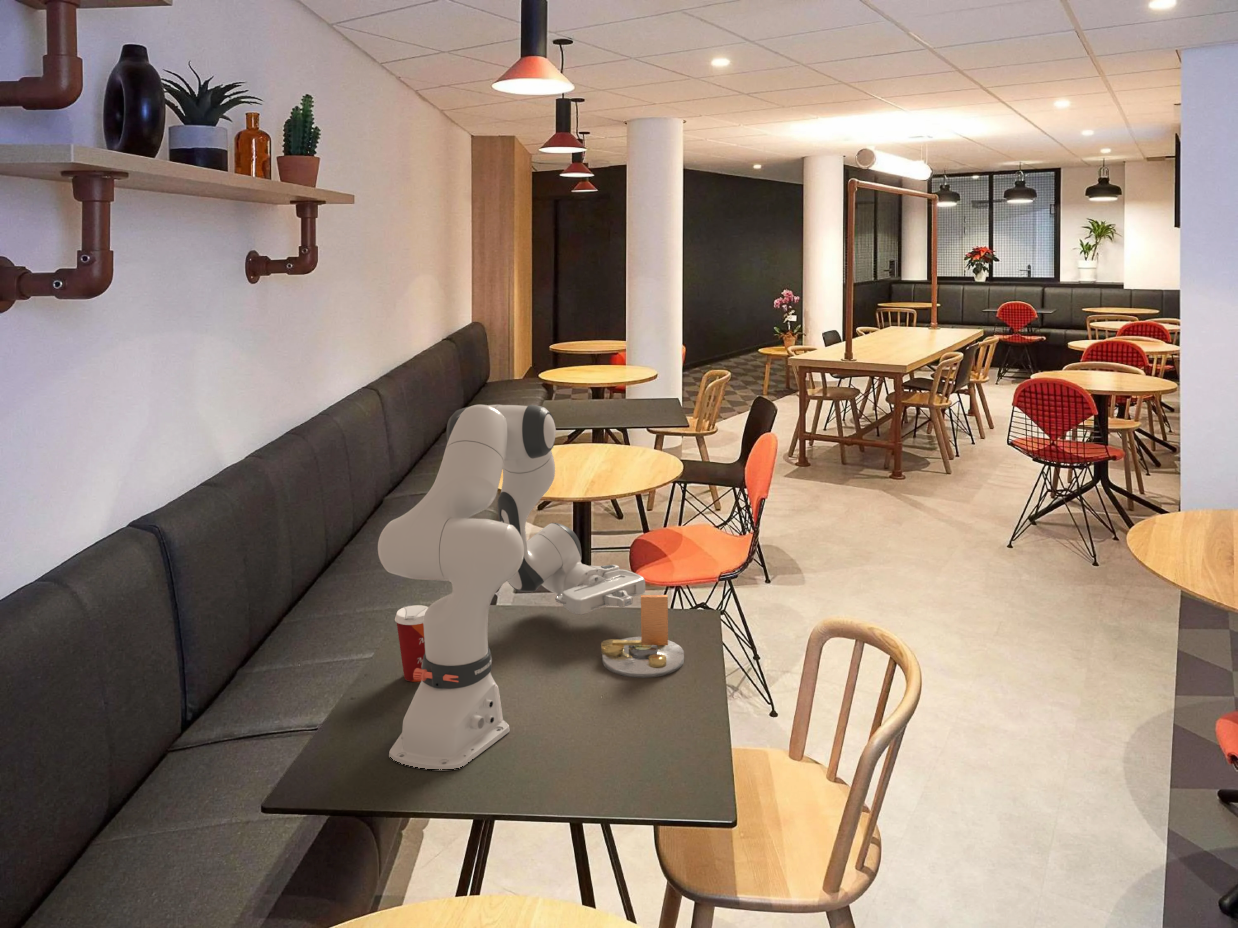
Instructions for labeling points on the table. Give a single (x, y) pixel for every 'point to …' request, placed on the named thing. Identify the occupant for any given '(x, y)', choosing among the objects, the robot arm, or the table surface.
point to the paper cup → (411, 638)
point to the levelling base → (645, 660)
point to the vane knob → (645, 626)
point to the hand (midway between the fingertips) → (627, 602)
